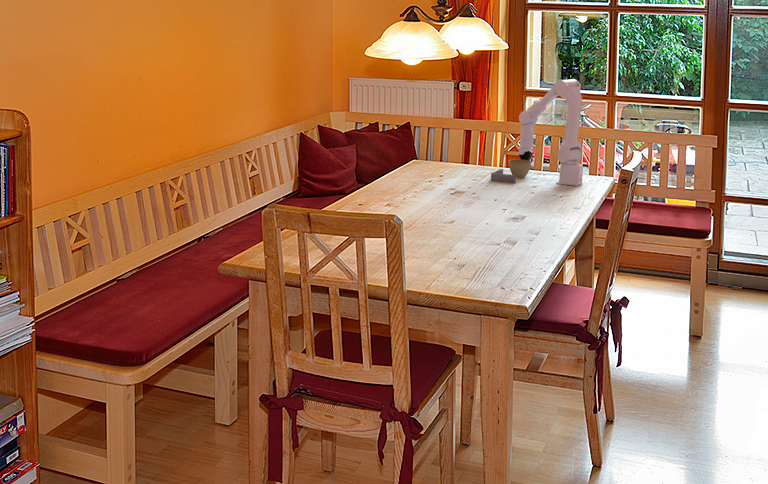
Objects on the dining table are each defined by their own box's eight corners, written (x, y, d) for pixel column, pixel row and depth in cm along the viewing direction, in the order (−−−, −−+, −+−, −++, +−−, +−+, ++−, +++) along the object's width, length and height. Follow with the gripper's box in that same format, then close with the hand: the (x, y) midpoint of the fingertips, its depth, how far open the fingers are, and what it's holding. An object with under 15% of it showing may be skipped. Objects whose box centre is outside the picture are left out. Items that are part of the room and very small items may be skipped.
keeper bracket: (523, 179, 365) (524, 171, 364) (514, 183, 354) (515, 175, 353) (500, 176, 370) (500, 168, 369) (490, 181, 359) (491, 173, 358)
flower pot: (503, 175, 371) (504, 160, 369) (522, 174, 375) (523, 158, 373) (515, 180, 362) (516, 163, 360) (534, 178, 366) (536, 162, 365)
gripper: (523, 135, 379) (521, 164, 382) (512, 139, 366) (511, 169, 370) (538, 136, 376) (536, 166, 379) (528, 140, 363) (526, 171, 367)
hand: (524, 168), depth 374 cm, fingers closed
